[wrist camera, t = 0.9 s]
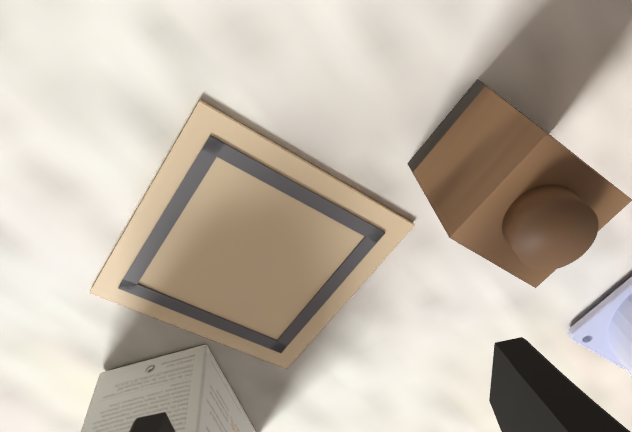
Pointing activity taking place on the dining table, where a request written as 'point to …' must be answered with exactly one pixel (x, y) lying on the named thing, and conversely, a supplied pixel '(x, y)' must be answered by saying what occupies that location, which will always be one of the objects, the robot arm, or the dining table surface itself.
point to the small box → (167, 395)
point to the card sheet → (246, 242)
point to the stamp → (512, 188)
